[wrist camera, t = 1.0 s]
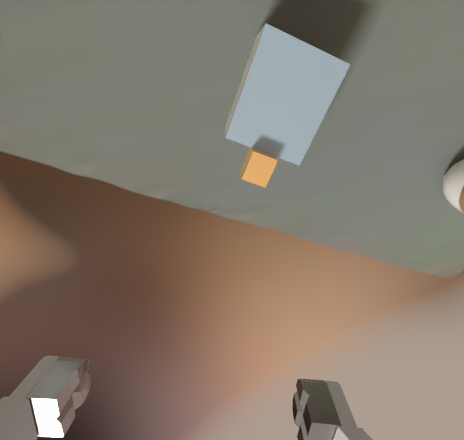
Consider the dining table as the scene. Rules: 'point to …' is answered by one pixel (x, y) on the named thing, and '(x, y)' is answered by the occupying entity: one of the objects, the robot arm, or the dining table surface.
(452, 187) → the lidded jar
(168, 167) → the dining table surface
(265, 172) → the lid
